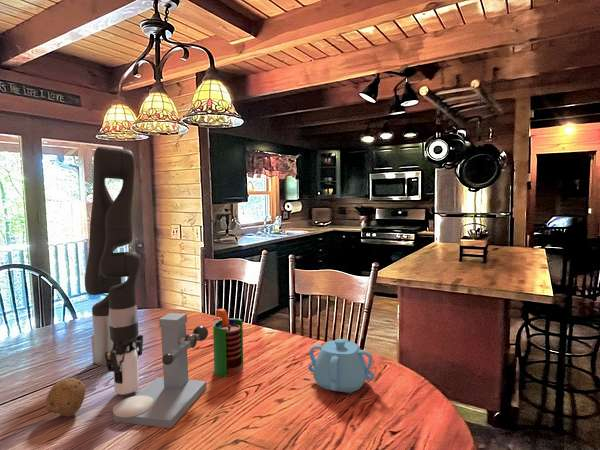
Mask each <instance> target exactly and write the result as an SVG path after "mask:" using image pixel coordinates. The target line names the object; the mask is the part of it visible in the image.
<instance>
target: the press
mask: <svg viewBox="0 0 600 450" xmlns="http://www.w3.org/2000/svg"><path fill="white" fill-rule="evenodd" d="M187 322H188V314H187V313H179V312H177V313H176V312H169V313H167V314H165V315H164V316H162V317H160V318H159V319H158V326H159V328H160V332H161V333H160V335H161V351H162V352H161V354H162V357H163V356H164V355H165V354H167V353H169V352H170V351H172V350H173V349H174V348H176V347H177V346H178V345H180V344H181V343H182V342H183V341H184V340H185V337H186V335H187ZM162 367H163V368H162V371H163V372H162V373H163V377H160V376H157V377H156V378H155V379H154V380H152V381H150V383H149V384H147V385H146V386H145V387H144V388H143V389H142V390H141V391H139V392H138V393H137V394H136V395H133V396H130V397H127V398H125V399H122V400H120V401H119V402H117V403H116V404H115V405H114V406H113V408H112V414H113V422H115V423H116V422H117V423H125V424H131V425H132V424H133V425H141V426H148V427H149V426H151V427H157V428H158V427H159V428H167V429H168V428H169V429H172V427H173V426H175V424H176V423H177V422H178V421H179V420H180V419H181V418H182V416H183V415H184V414H185V413H186V411H188V409H189V408H191V406H192V405H193V404H194V402H195V401H196V400H198V398H199V397H200V396H201V395H202V393H204V392H205V390H206V389H207V380H195V379H189V364H188V349H187V350H186V351H185V352H183V353H182V354H181V355H180V356H178V357H177V358H176V359H175V360H174V361H173V362H172V363H171V364H170V365H165V364H164V363H163V362H162Z"/></svg>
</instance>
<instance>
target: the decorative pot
mask: <svg viewBox="0 0 600 450" xmlns="http://www.w3.org/2000/svg"><path fill="white" fill-rule="evenodd" d="M314 350H320V351H319V352H318V354H317V357H316V358H315V355H314ZM308 354H309V358H310V360H311V363H309V365H308V370H309V371H310V372H311V373H313V379H314V381H315V382H316V384H317V385H318V386H319V387H321V388H322V389H323V390H326V391H332V392H333V391H334V392H340V393H341V392H343V393H346V394H353V393H354V392H356V391H358V390H360V389H361V387H363V385H364V383H365V382H366V381H372V380H374V378H375V373H374V372H373V371H372V370H371V368H372V365H373V355H372V353H370V352H369V351H367V350H365V349H361V348H360V346H359V344H357V343H355V342H352V341H350V340H349V339H347V338H337V339H335V340H328V341H326V342H325V343H324V344H323V345H320V344H315V345H312V346H311V348H310V349H309V351H308ZM364 355H365V356H366V357H367V358H368V363H367V362H366V359H365V356H364ZM369 375H370V376H369Z"/></svg>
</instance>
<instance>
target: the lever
mask: <svg viewBox="0 0 600 450" xmlns="http://www.w3.org/2000/svg"><path fill="white" fill-rule="evenodd" d="M208 330H209V329H207V327H206V326H204V325H197V326H196V327H194V329H193V330H192V334H190V333H189V334H186V337H185V340H184V341H183V342H182V343H181V344H180V345H178V346H177V347H176V348H174V349H173V350H172V351H170V352H169V353H167V354H165V355H164V356H162V359H161V360H162V364H163V363H164V364H165V365H170V364H171V363H172V362H173V361H174V360H175V359H176V358H177V357H178V356H180V355H181V354H182V353H183V352H185V351H186V350H187V351H188V349H194V348H196V345H197V343H198V342H202V341H203V342H204V341H205V340H206V339H207V338H208V336H209V331H208Z"/></svg>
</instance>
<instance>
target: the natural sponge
mask: <svg viewBox="0 0 600 450" xmlns="http://www.w3.org/2000/svg"><path fill="white" fill-rule="evenodd" d="M85 396H86V385H85V384H84V383H83V382H82V381H81V380H80V379H77V378H74V377H68V378H63V379H60V380H59V381H58V382H56V383H54V385H52V386H51V388H50V390H49V392H48V395H47V397H46V399H45V403H44V404H45V405H44V406H45V409H46V411H47V412H49V413H51V414H57V415H61V416H62V417H67V418H69V417H72V416H74V415H75V414H76V413H77V412H78V411H79V410H80V408H81V407H82V405H83V402H84V400H85Z"/></svg>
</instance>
